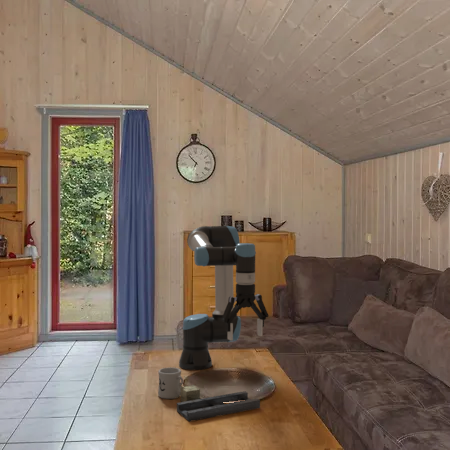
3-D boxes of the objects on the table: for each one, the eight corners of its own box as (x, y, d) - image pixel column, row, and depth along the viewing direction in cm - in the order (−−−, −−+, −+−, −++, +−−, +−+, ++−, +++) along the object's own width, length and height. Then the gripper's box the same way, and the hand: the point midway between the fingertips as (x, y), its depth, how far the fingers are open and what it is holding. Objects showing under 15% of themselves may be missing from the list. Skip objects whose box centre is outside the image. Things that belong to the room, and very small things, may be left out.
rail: (176, 411, 205) (176, 403, 205) (245, 398, 218) (245, 391, 218) (189, 421, 195) (189, 413, 195) (259, 408, 208) (259, 399, 208)
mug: (153, 395, 221) (153, 370, 221) (170, 390, 228) (170, 365, 227) (174, 403, 213) (174, 377, 212) (191, 397, 219) (192, 372, 219)
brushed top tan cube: (180, 401, 215) (180, 387, 215) (193, 399, 218) (193, 385, 217) (186, 406, 210) (186, 391, 210) (199, 403, 213) (199, 389, 213)
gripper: (222, 286, 209) (222, 343, 210) (277, 282, 222) (277, 336, 223) (212, 284, 216) (212, 339, 217) (266, 280, 228) (266, 332, 229)
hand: (245, 337), depth 220 cm, fingers open, 13 cm apart
